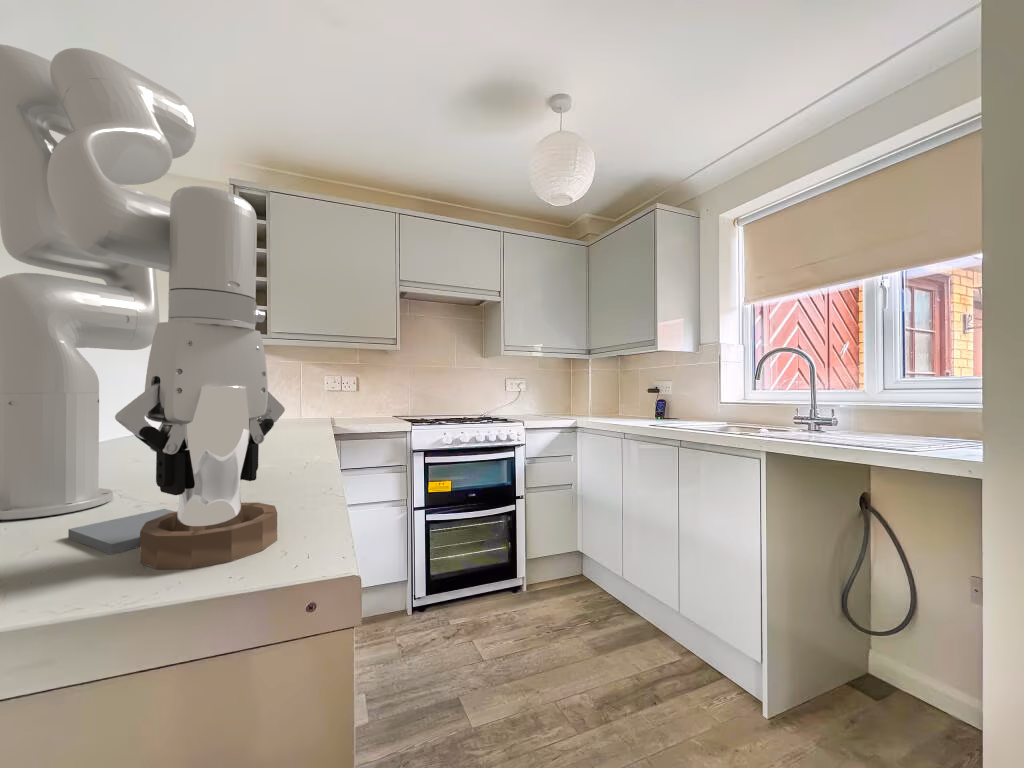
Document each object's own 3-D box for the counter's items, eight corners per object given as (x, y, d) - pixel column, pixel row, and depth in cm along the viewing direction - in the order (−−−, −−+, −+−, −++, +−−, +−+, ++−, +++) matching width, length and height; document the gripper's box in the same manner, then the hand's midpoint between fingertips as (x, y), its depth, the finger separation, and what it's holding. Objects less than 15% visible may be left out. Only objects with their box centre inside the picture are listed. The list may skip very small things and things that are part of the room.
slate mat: (68, 538, 48) (68, 529, 48) (164, 516, 56) (164, 508, 56) (111, 554, 43) (111, 544, 43) (209, 528, 51) (209, 519, 51)
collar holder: (118, 554, 43) (119, 524, 43) (236, 522, 53) (236, 498, 53) (181, 578, 38) (181, 543, 38) (299, 538, 48) (299, 510, 48)
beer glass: (208, 544, 42) (211, 386, 42) (149, 537, 43) (152, 385, 43) (264, 521, 49) (266, 386, 49) (211, 516, 50) (213, 384, 50)
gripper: (269, 326, 55) (267, 468, 55) (88, 302, 40) (85, 499, 40) (310, 323, 52) (307, 475, 52) (129, 296, 36) (125, 512, 37)
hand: (210, 484), depth 46 cm, fingers closed on beer glass, 6 cm apart
